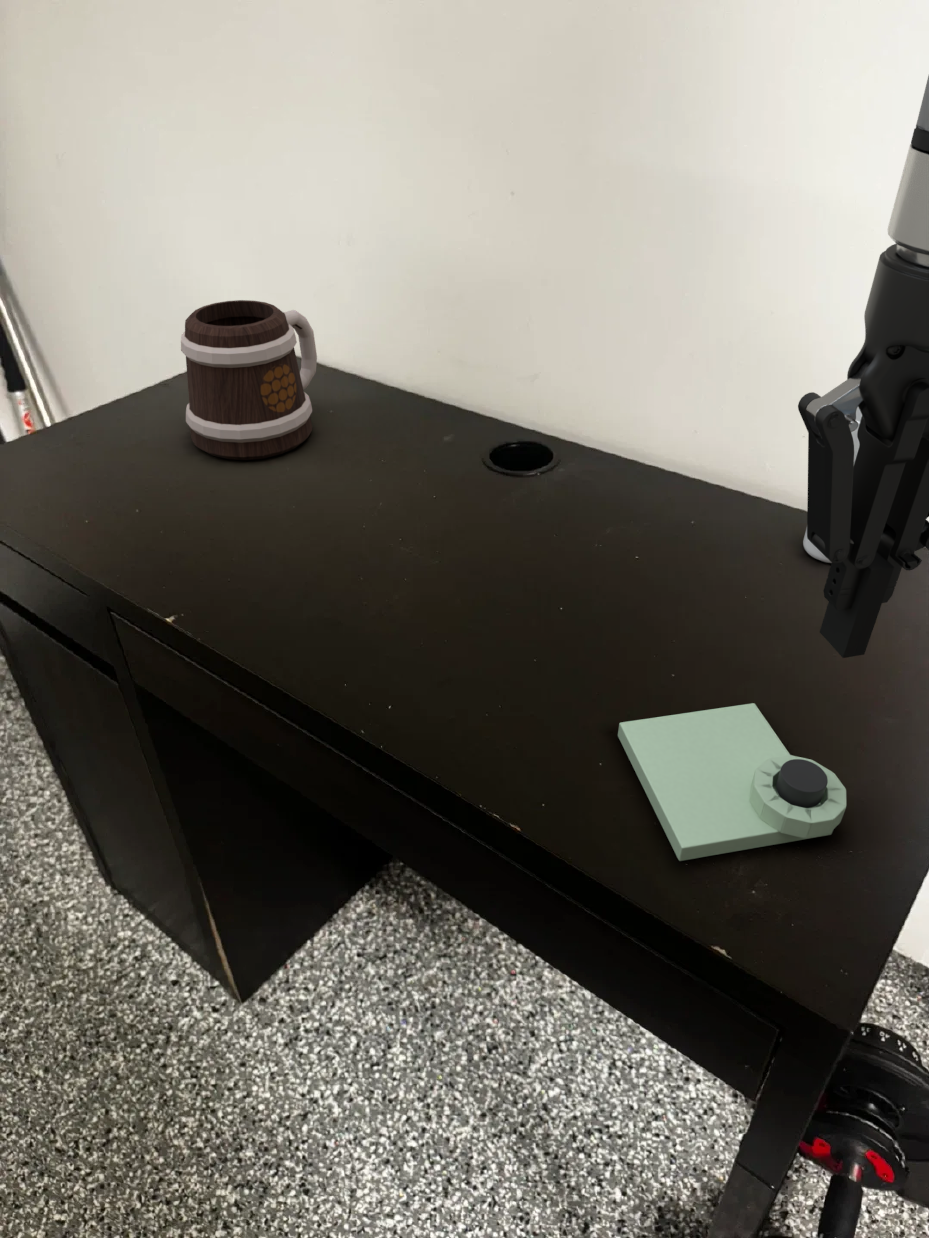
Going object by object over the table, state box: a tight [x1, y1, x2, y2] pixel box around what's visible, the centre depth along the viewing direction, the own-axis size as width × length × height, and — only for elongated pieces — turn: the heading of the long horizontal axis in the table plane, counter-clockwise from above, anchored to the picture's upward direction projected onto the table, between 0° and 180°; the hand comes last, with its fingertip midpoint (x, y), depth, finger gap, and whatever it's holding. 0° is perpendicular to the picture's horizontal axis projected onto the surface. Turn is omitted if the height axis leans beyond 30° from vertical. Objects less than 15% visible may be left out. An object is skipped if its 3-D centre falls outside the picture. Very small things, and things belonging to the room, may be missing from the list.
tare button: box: [776, 759, 828, 808], centre depth 59 cm, size 3×3×2 cm
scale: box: [617, 702, 847, 862], centre depth 63 cm, size 13×12×3 cm
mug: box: [180, 299, 318, 461], centre depth 107 cm, size 20×15×15 cm
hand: (841, 642), depth 56 cm, fingers closed
